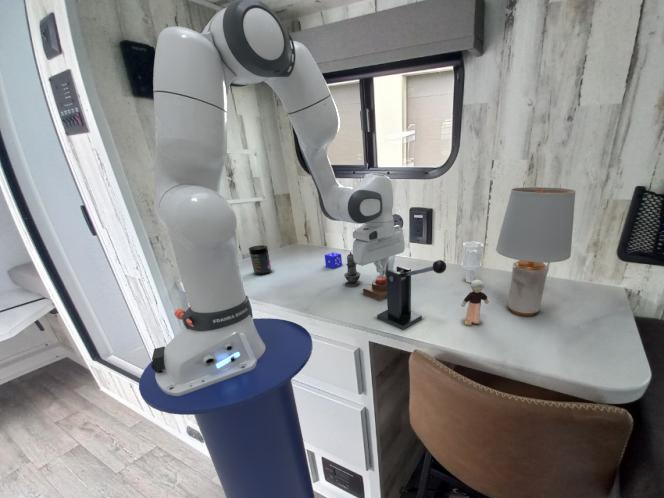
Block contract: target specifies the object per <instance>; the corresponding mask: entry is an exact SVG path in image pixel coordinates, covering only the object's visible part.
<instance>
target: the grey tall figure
mask: <svg viewBox="0 0 664 498" xmlns="http://www.w3.org/2000/svg"><path fill="white" fill-rule="evenodd" d="M357 265H358V264H356V263H355V262H354V260H353V253H352V252H351V251H349V254H347V256H346V266H347V271H346V272H345V273H344V275H343V276H344V278H345V280H346V283H345V286H347V287H358V286H359V285H361V281H359V280H360V277H361V273H360V272H359V271H357Z"/></svg>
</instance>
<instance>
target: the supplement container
mask: <svg viewBox="0 0 664 498" xmlns="http://www.w3.org/2000/svg"><path fill="white" fill-rule="evenodd" d="M248 253H249V256H250V261H251V264H252V265H251V266H252V270H253V273H254V274H255V275H256V276H265V275H269V274H271V273H272V270H273V269H272V265H271V259H270V255H269V248H268V246H267V245H262V244H261V245H259V244H258V245H253V246H250V247H248Z"/></svg>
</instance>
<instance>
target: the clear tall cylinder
mask: <svg viewBox="0 0 664 498" xmlns="http://www.w3.org/2000/svg"><path fill="white" fill-rule="evenodd" d="M462 248H463V250H462V251H463V253H462V262H461V263H460V265H461V266H460V267H461V268H462V269H464V270H466V272H465V282H466V283H472V281H474V280H475V274H476V270H477V271H478V270H480V269H481V268H482V263H481V258H482V250H483V249H484V243H482V242H479V241H465V242H463V243H462Z"/></svg>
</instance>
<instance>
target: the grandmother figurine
mask: <svg viewBox="0 0 664 498" xmlns="http://www.w3.org/2000/svg"><path fill="white" fill-rule="evenodd" d="M484 287H485V284H484V282H483V281H481V280H479V279H474V281H472V282H470V288H471V291H470V292H469V293H468V294H467V295H466V296H465V297H464V298H463V300H462V303H461V304H460V306H461V307H462V308H463V307H465V306H466V305H467V303H468V306H467V309H466V313H465V320H464V325H466V326H472V325H473V324H474V325H480V324H481V321H480V314H481V307H482V301H483V302H484V304H487V305H488V304H489V300H488V299H489V298H488V295H487V294H486V293H485V292H483V291H482V290H483V288H484Z"/></svg>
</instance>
